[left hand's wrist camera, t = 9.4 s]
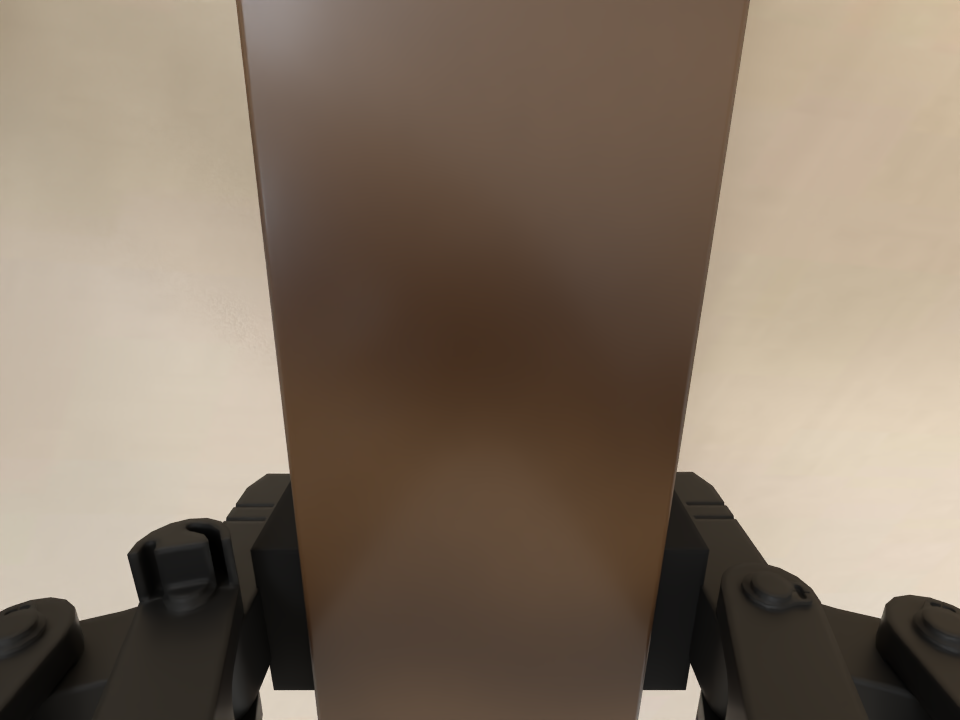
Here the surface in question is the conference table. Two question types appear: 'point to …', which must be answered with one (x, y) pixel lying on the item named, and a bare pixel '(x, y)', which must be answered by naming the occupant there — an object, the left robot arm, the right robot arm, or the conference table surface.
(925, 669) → the left robot arm
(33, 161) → the conference table surface
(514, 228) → the beam
